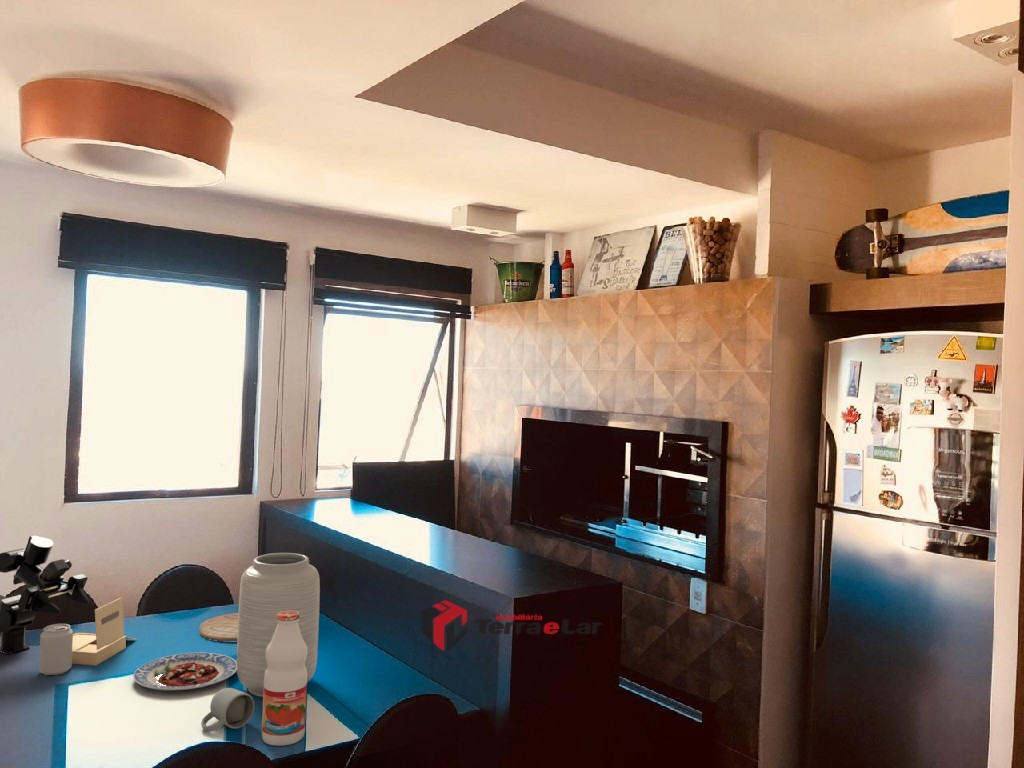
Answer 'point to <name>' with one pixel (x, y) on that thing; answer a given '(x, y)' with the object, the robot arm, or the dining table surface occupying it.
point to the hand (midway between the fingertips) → (74, 607)
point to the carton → (94, 649)
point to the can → (56, 649)
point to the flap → (109, 623)
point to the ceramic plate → (185, 671)
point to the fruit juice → (285, 683)
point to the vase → (275, 612)
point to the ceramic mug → (229, 709)
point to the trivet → (221, 628)
